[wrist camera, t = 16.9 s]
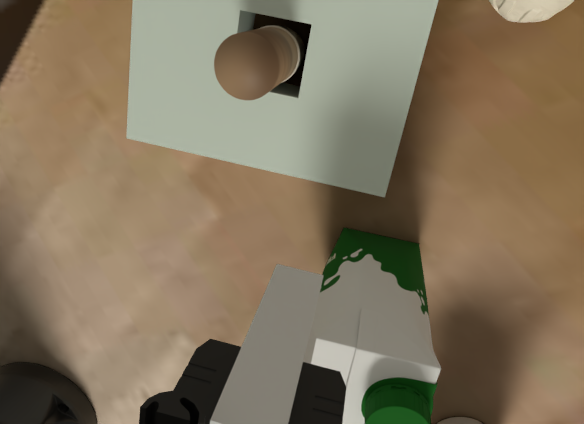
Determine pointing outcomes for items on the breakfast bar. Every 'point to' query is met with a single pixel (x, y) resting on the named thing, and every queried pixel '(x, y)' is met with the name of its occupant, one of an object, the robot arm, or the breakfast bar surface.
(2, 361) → the breakfast bar surface
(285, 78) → the peg
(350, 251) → the milk carton
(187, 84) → the board
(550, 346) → the breakfast bar surface
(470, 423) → the coffee cup
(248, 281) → the breakfast bar surface
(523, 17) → the baseball
